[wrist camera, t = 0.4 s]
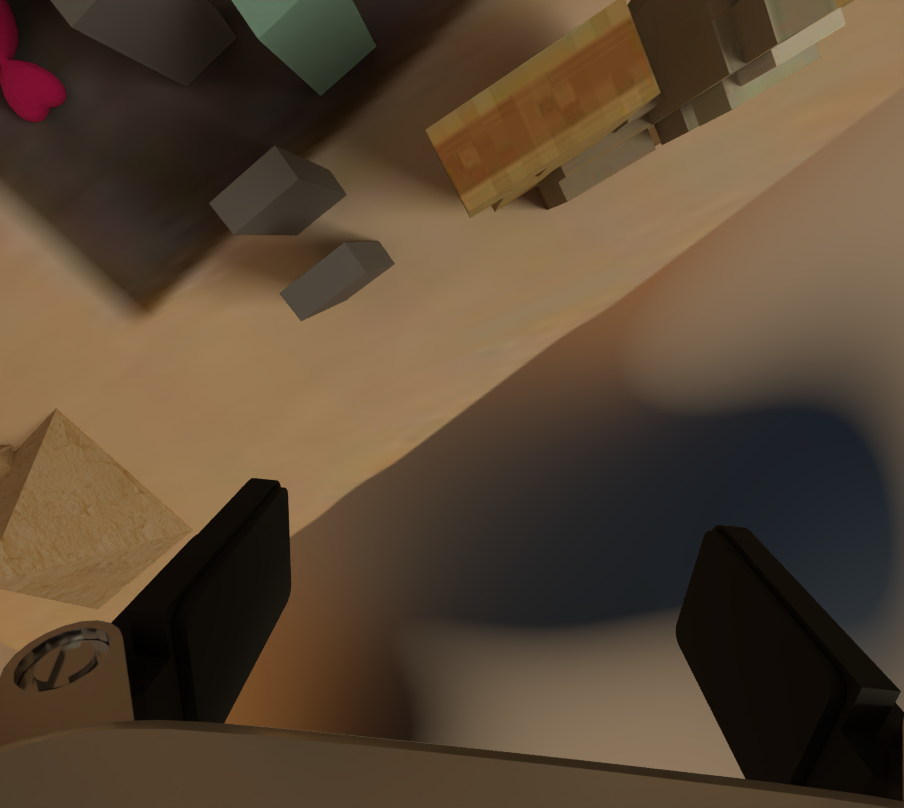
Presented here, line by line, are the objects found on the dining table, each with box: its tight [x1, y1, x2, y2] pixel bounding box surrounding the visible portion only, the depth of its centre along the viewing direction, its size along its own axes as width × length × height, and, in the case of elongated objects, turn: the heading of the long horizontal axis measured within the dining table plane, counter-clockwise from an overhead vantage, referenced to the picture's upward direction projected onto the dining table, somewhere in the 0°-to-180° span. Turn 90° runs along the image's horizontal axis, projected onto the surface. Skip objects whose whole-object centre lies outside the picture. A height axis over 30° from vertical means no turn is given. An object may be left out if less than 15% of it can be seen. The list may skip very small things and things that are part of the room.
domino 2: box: [232, 0, 377, 96], centre depth 28 cm, size 5×2×10 cm, turn 125°
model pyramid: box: [0, 409, 193, 609], centre depth 42 cm, size 17×17×10 cm
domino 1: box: [51, 0, 237, 87], centre depth 28 cm, size 5×2×10 cm, turn 125°
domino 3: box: [209, 145, 346, 235], centre depth 31 cm, size 5×2×10 cm, turn 125°
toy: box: [425, 0, 854, 218], centre depth 24 cm, size 6×17×20 cm, turn 120°
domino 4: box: [280, 241, 395, 321], centre depth 32 cm, size 5×2×10 cm, turn 125°
